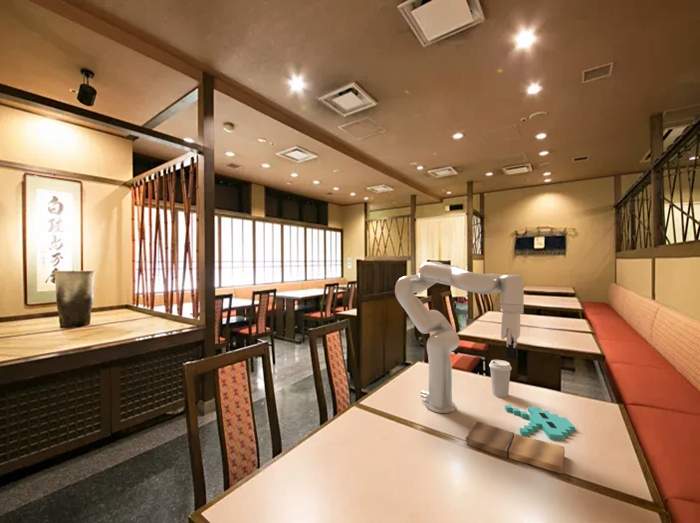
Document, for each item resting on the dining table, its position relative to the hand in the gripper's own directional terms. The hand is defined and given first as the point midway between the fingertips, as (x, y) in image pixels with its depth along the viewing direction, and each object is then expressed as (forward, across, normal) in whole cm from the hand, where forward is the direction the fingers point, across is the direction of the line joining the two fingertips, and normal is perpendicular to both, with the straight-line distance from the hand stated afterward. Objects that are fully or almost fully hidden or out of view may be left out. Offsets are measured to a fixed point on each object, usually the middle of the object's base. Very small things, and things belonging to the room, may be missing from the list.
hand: (511, 357), depth 111 cm
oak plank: (+27, +11, +9) cm, 30 cm away
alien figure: (+28, -12, +8) cm, 31 cm away
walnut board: (+27, +12, -5) cm, 30 cm away
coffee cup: (+27, -30, -10) cm, 42 cm away
